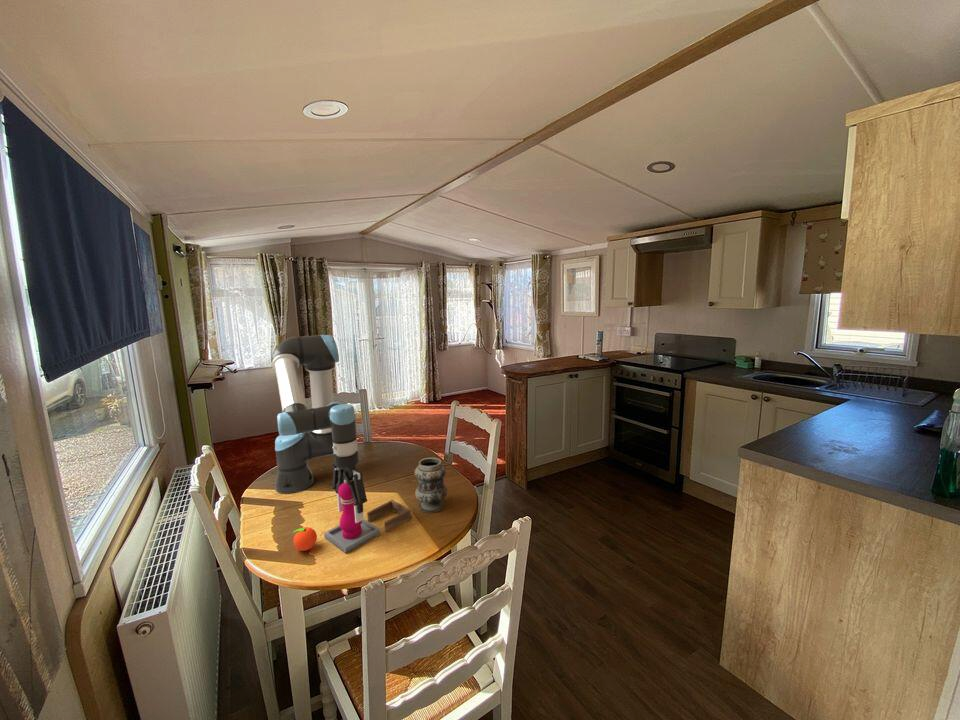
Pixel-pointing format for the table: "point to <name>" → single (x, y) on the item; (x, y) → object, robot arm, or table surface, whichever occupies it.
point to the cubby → (387, 507)
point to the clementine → (305, 538)
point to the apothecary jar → (430, 485)
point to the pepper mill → (348, 513)
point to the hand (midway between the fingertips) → (350, 515)
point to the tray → (349, 544)
